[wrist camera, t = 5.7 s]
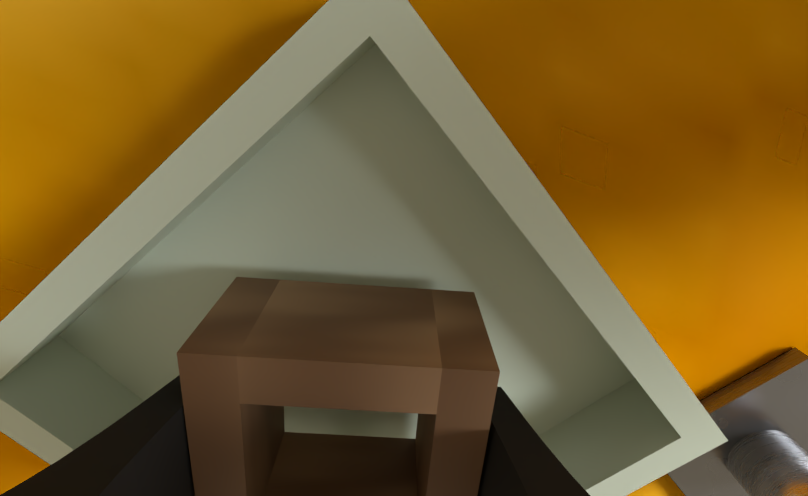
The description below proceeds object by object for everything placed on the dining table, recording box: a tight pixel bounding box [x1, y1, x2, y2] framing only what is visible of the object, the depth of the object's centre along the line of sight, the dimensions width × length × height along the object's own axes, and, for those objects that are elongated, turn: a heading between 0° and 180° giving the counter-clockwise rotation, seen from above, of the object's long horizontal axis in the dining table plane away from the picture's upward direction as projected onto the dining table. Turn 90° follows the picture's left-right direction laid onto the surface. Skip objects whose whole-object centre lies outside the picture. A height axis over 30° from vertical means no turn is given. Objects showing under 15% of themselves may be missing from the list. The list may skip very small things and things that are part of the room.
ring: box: [177, 277, 500, 496], centre depth 10 cm, size 6×6×3 cm
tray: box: [0, 0, 728, 496], centre depth 11 cm, size 13×13×3 cm
